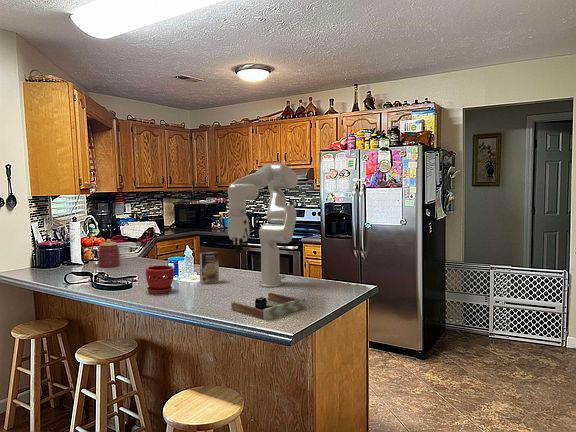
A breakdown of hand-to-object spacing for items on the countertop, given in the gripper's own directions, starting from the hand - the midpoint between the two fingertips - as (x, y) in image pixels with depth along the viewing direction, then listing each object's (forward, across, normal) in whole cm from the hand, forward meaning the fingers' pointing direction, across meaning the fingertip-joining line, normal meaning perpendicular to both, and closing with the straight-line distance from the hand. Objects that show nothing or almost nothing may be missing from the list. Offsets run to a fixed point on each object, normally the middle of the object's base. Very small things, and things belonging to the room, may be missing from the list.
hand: (238, 253), depth 194 cm
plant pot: (+21, +40, +16) cm, 48 cm away
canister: (+23, +125, +1) cm, 127 cm away
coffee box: (+22, +38, -12) cm, 45 cm away
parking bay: (+21, -20, +3) cm, 29 cm away
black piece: (+22, -18, +4) cm, 28 cm away
